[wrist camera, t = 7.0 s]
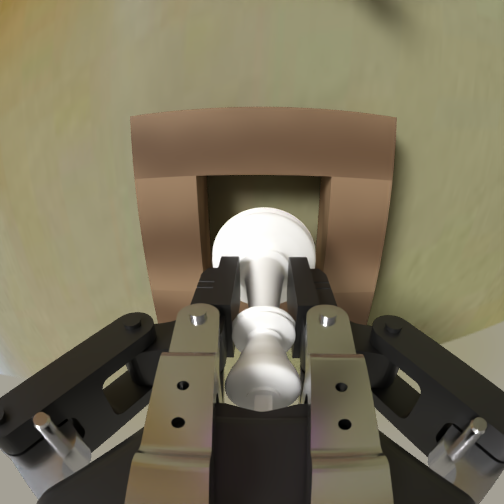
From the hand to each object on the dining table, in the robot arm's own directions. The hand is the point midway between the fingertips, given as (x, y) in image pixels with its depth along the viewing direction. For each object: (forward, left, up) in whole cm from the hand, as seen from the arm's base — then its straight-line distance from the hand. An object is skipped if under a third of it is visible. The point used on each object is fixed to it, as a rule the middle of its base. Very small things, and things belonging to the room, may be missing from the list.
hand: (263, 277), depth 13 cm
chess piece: (0, 0, -2) cm, 2 cm away
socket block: (0, 0, -7) cm, 7 cm away
